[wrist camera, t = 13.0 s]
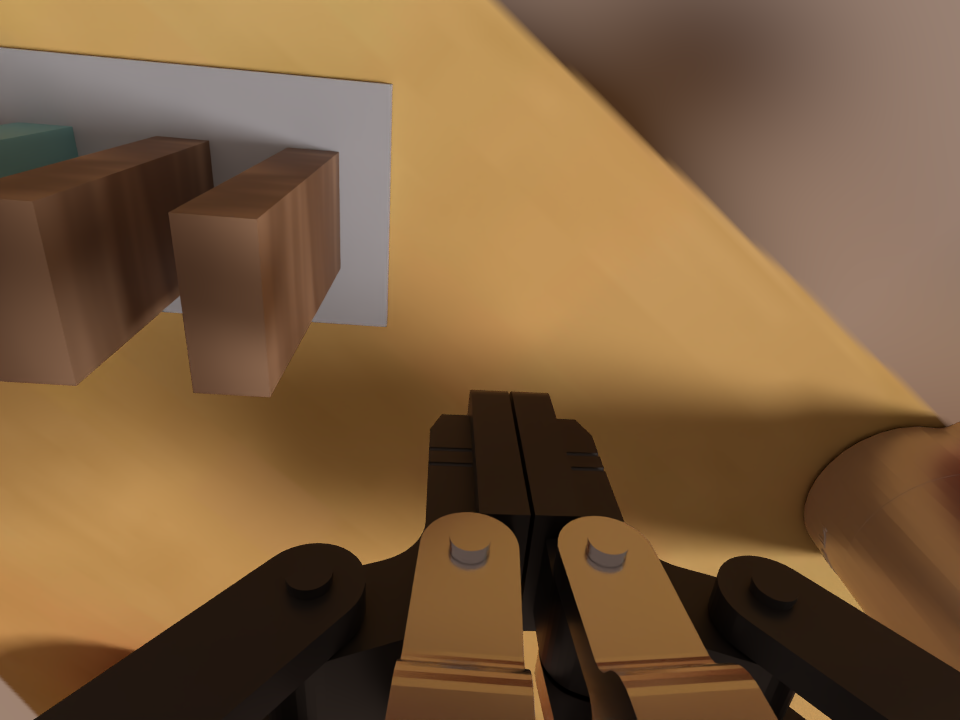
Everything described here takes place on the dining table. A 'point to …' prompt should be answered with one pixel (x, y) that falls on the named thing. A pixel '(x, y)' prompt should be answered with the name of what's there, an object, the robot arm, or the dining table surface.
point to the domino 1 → (34, 146)
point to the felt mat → (231, 138)
